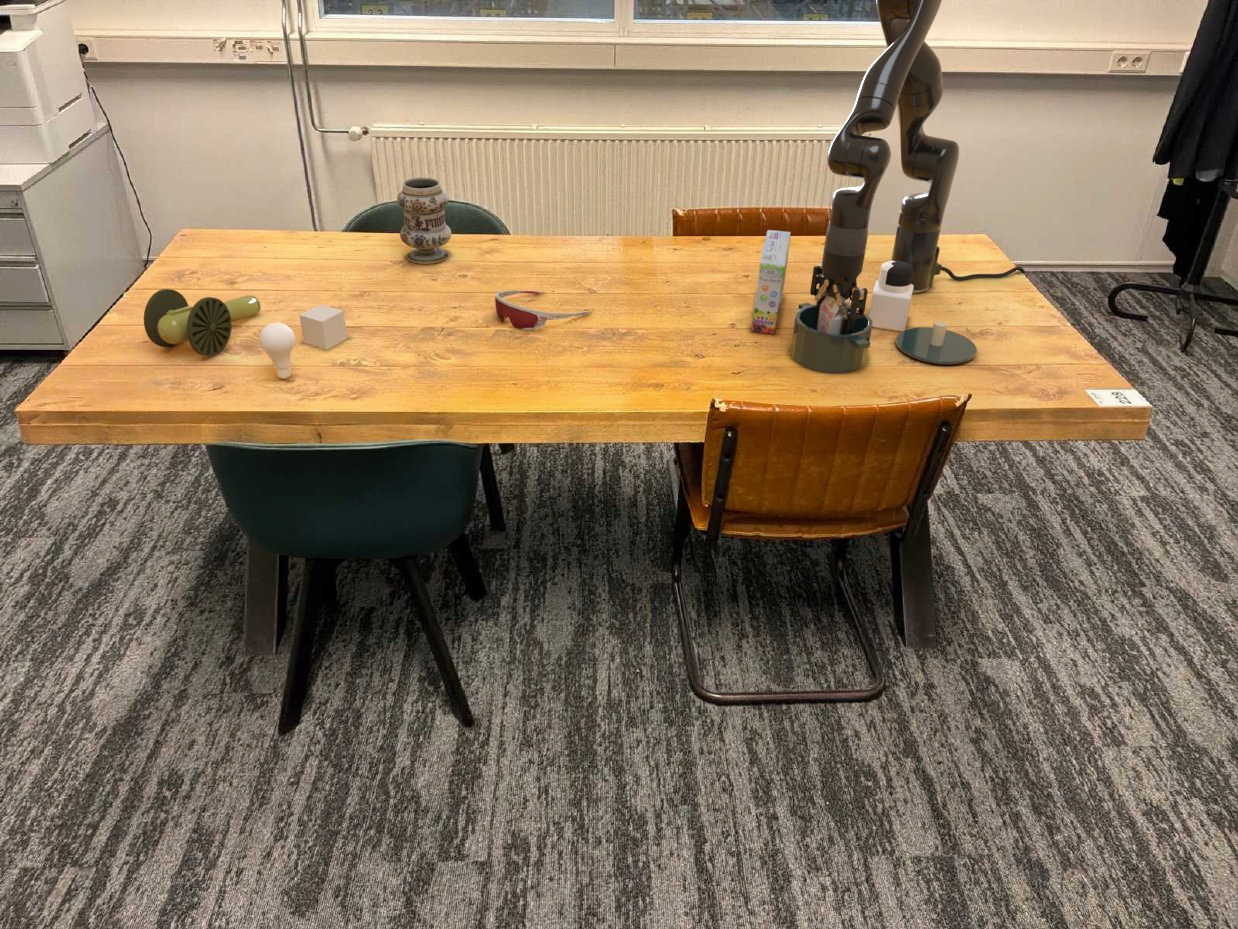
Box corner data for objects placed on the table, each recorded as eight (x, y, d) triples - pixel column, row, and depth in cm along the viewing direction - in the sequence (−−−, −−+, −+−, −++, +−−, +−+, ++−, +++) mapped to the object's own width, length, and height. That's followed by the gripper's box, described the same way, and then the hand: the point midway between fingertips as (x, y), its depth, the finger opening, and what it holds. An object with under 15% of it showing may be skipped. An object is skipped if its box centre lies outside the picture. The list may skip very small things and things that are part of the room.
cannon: (232, 308, 201) (221, 257, 195) (279, 317, 198) (269, 266, 191) (145, 358, 181) (129, 303, 175) (195, 369, 178) (181, 313, 172)
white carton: (833, 331, 188) (841, 284, 183) (845, 346, 183) (853, 298, 177) (816, 332, 188) (822, 285, 182) (827, 347, 182) (835, 299, 177)
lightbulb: (271, 370, 178) (260, 317, 172) (305, 370, 179) (294, 316, 172) (264, 386, 173) (252, 331, 167) (298, 385, 173) (287, 331, 167)
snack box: (777, 335, 194) (786, 266, 186) (750, 332, 195) (757, 263, 187) (783, 295, 212) (791, 230, 203) (758, 292, 213) (765, 227, 204)
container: (907, 317, 203) (918, 260, 196) (904, 332, 197) (916, 273, 189) (870, 312, 205) (880, 255, 198) (866, 326, 199) (876, 268, 192)
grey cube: (326, 349, 186) (321, 321, 182) (304, 342, 188) (298, 315, 185) (348, 338, 190) (343, 310, 187) (325, 331, 193) (320, 304, 189)
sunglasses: (477, 313, 200) (478, 290, 198) (535, 303, 212) (537, 282, 210) (532, 339, 191) (535, 315, 188) (590, 327, 203) (593, 304, 200)
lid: (939, 327, 199) (944, 302, 196) (992, 358, 187) (999, 332, 184) (879, 340, 194) (884, 314, 190) (930, 373, 182) (936, 346, 179)
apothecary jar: (448, 266, 222) (442, 190, 212) (397, 265, 222) (388, 189, 212) (456, 248, 232) (451, 175, 223) (408, 247, 232) (400, 173, 223)
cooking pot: (828, 329, 197) (833, 294, 193) (889, 371, 182) (897, 333, 178) (769, 342, 192) (773, 305, 188) (827, 385, 177) (833, 347, 173)
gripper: (885, 257, 171) (871, 339, 180) (838, 231, 181) (826, 310, 190) (852, 263, 168) (838, 346, 177) (805, 236, 179) (795, 316, 188)
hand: (832, 327), depth 184 cm, fingers closed on white carton, 7 cm apart
